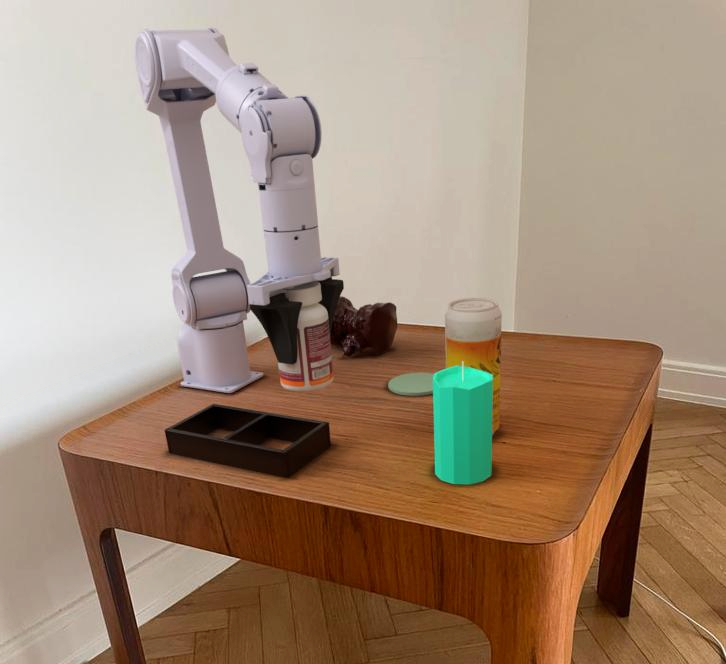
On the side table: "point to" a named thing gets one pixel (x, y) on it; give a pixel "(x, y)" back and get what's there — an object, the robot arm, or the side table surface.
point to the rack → (249, 439)
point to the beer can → (476, 341)
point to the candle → (463, 424)
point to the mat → (412, 384)
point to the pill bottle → (309, 343)
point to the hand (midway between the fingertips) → (304, 353)
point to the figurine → (363, 327)
